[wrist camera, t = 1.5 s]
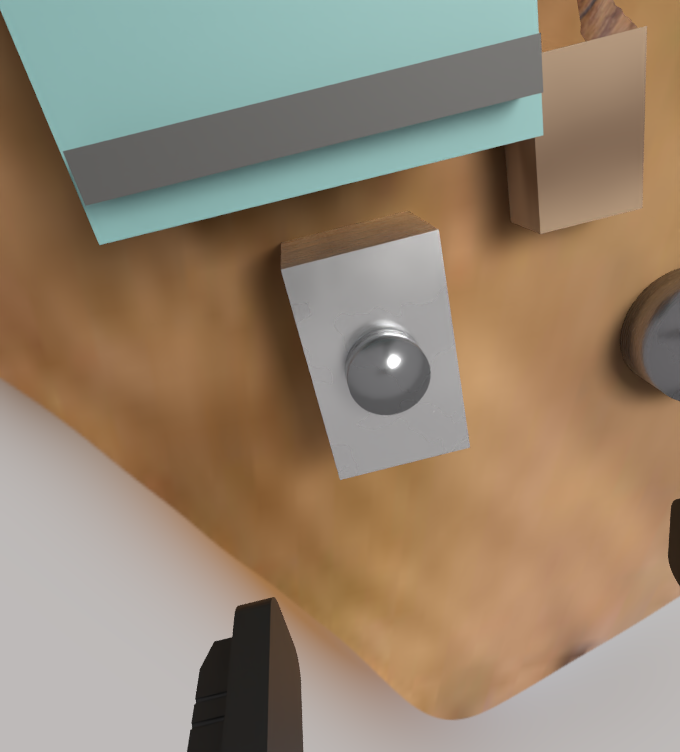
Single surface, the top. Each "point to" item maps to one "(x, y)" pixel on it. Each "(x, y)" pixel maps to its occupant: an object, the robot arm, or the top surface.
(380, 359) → the block
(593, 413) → the top surface
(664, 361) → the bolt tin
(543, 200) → the wood offcut
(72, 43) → the stand
